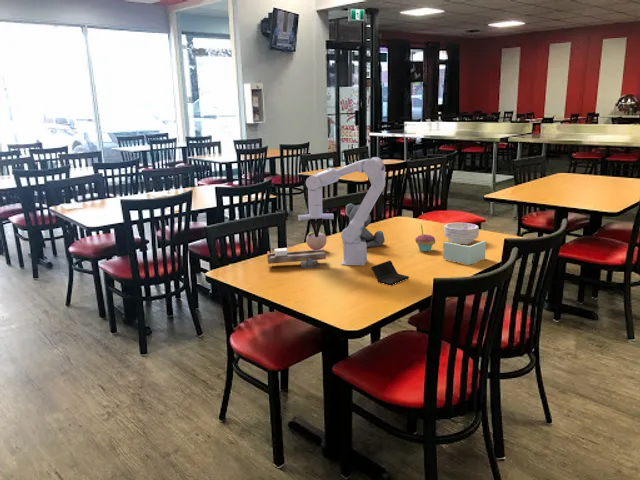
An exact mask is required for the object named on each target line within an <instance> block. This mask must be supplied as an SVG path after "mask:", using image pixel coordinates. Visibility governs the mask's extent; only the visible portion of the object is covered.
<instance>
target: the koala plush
mask: <svg viewBox="0 0 640 480" xmlns="http://www.w3.org/2000/svg"><path fill="white" fill-rule="evenodd" d="M360 205H361V204H357V205H355V204H353V203H348V204H347V205H345V213H344V214H345V215H346V216H347V217H348V218H349V219H348V221H349V223H350V222H351V221H352V219H353V218H354V216H355V214H356V212H357V210H358V209H359V207H360ZM371 217H372V216H371V214H370V213H369V215H368V217H367V218H366V220H365V222H364V225H363V227H362V233H361V235H360V236H359V237H360V239H361V241H362V242H366V245H367V248H370V247H371V248H372V247H373V248H374V247H379V246H382V245H384V243H385V235H384V232H383V231H382V230H377V231H376V232H374V234H373V233H372V232H370V231H369V230H368V229H367V227H368V226H369V225H370V223H371V220H372V218H371ZM341 240H342V241H341V242H343V239H342V238H341Z"/></svg>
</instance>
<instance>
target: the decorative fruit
mask: <svg viewBox="0 0 640 480" xmlns="http://www.w3.org/2000/svg"><path fill="white" fill-rule="evenodd" d="M327 241H328V240H327V236H326V235H325V232H324V231H323V230H319V235H318V237H315V234H314V231H310V232H309V233H308V234H307V235H306V239H305V242H306V245H307V246H308V247H309V248H310V250H321V249H323V248H324V247H325V246H326V244H327Z"/></svg>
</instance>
